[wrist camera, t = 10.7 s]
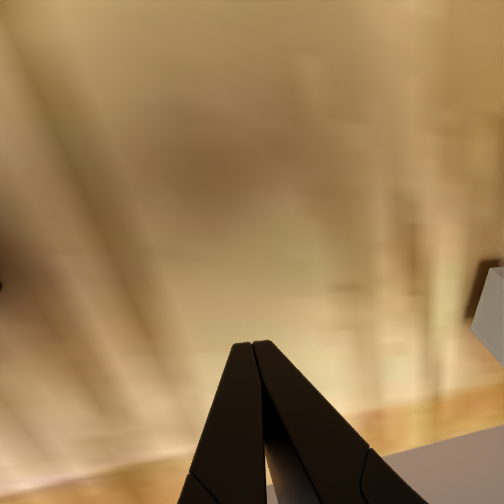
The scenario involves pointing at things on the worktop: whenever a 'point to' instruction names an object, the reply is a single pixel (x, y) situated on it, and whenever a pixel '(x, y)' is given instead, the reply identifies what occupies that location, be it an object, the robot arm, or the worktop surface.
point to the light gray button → (491, 314)
